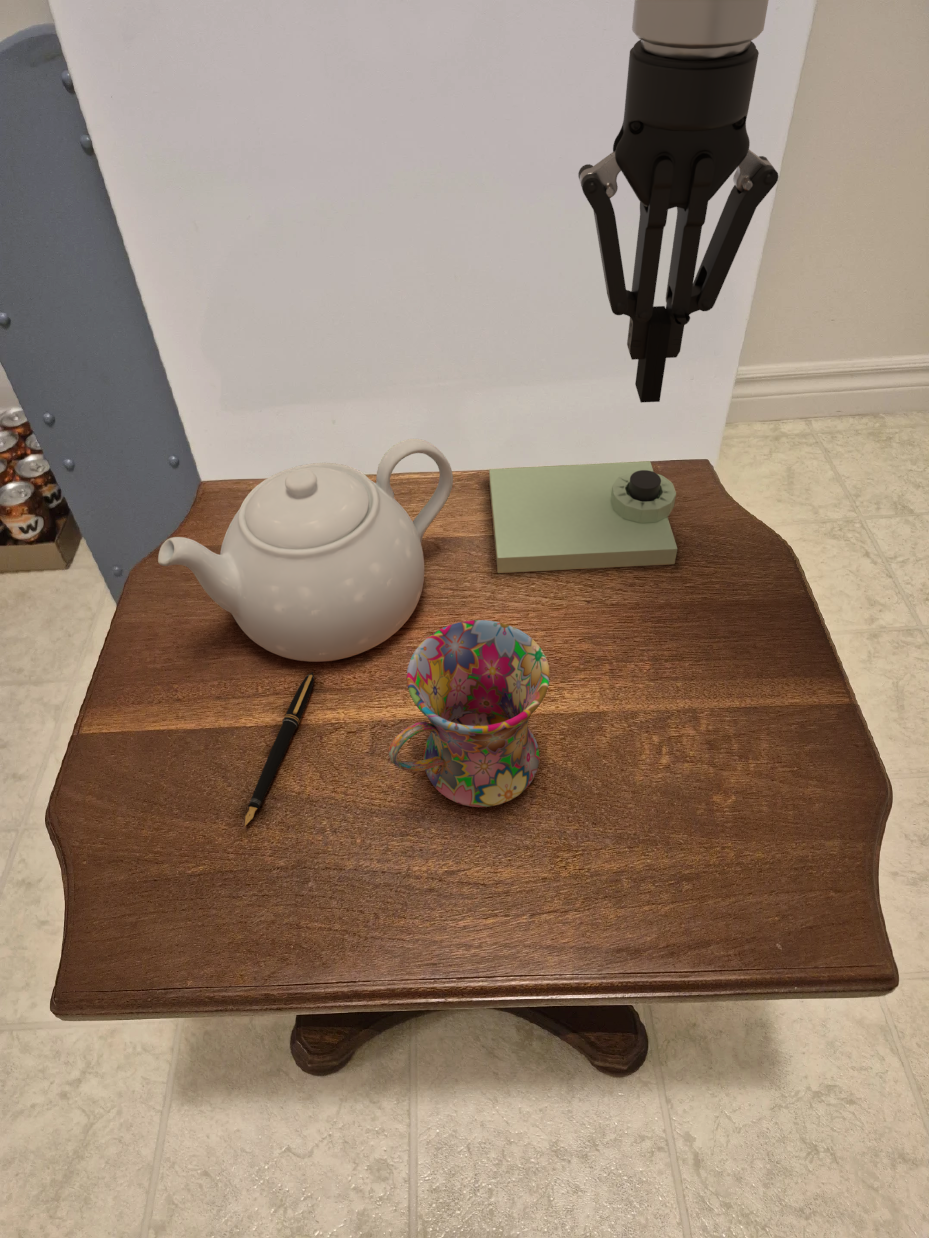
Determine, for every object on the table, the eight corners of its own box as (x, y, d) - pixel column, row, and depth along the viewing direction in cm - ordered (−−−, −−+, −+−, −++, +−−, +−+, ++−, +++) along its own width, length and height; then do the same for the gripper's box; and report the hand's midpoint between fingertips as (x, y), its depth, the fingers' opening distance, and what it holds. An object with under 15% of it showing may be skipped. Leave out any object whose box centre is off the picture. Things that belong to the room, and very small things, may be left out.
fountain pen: (254, 834, 59) (249, 823, 58) (238, 831, 59) (233, 820, 58) (320, 677, 69) (318, 665, 68) (307, 675, 69) (304, 663, 68)
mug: (488, 692, 67) (486, 599, 59) (570, 768, 62) (579, 676, 54) (364, 777, 62) (343, 687, 54) (442, 867, 57) (432, 781, 49)
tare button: (655, 482, 79) (657, 469, 78) (661, 501, 77) (663, 487, 76) (625, 484, 79) (627, 470, 78) (631, 502, 77) (632, 489, 76)
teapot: (403, 694, 67) (386, 570, 57) (192, 658, 70) (140, 535, 61) (459, 541, 79) (452, 416, 69) (276, 516, 83) (245, 395, 73)
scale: (656, 475, 85) (661, 446, 83) (683, 563, 76) (690, 534, 74) (489, 484, 85) (488, 455, 83) (497, 573, 76) (497, 544, 74)
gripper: (788, 20, 52) (719, 365, 69) (577, 30, 53) (560, 371, 70) (825, 51, 47) (741, 416, 64) (592, 63, 47) (569, 423, 64)
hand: (647, 392), depth 67 cm, fingers closed
